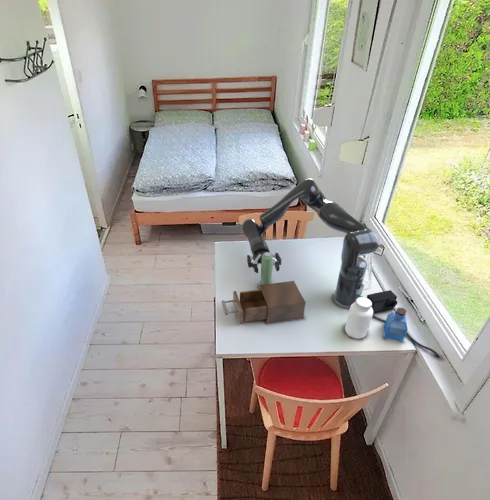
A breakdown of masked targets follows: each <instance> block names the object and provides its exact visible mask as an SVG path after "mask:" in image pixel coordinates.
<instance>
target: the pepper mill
mask: <svg viewBox="0 0 490 500" xmlns="http://www.w3.org/2000/svg"><path fill="white" fill-rule="evenodd" d="M260 265H261V266H260V278H259V283H258V284H259V285H265V284H272V283H273V282H272V277H273V276H272V275H273V266H274V265H273V254H272V253H271V252H270V253H269V252H266V253H264V254H262V262H261V264H260Z"/></svg>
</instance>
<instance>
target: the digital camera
mask: <svg viewBox="0 0 490 500" xmlns="http://www.w3.org/2000/svg"><path fill="white" fill-rule="evenodd" d="M366 298H367V299H369V300H370V301H371V302H372V306H371V307H372V309H373V315H374V314H379V313H383V312H388V311H392V310H394V309H395V307H396V306H397V304H398V300H397V298H398V296H397V294H396V293H394V292H393V290H392V289H389V290H383V291H379V292H374V293H369V294H367V295H366Z"/></svg>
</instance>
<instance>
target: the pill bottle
mask: <svg viewBox="0 0 490 500" xmlns="http://www.w3.org/2000/svg"><path fill="white" fill-rule="evenodd" d="M371 306H372V302H371V301H370V300H369V299H367V297H364V296H362V297H359V298H357V299H356V302H355V303H353V304H352V305H351V306H350V308H348V309H349V310H348V313H347V318H346V322H345V325H344V330H345V333H346V334H347V336H349V337H351V338H354V339H364V338H365V337H367V334H368V332H369V329H370V326H371V323H372V319H373V317H372V316H373V315H374V314H373V309H372V307H371Z"/></svg>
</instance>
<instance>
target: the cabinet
mask: <svg viewBox="0 0 490 500" xmlns="http://www.w3.org/2000/svg"><path fill="white" fill-rule="evenodd" d="M259 289H260V290H261V292H262V295H263V297H264V299H265V302H266V304H267V307H268V312H267V319H265V321H266V324H272V323H280V322H281V323H282V322H288V321H294V320H302V319H304V316H305V308H306V301H305V298H304V297H303V295H302V293H301V292H300V289H299V287H298V286H297V283H296V282H295V280H289V281H281V282H274V283H273V282H272V284H265V285H259V286H258V290H259Z"/></svg>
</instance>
